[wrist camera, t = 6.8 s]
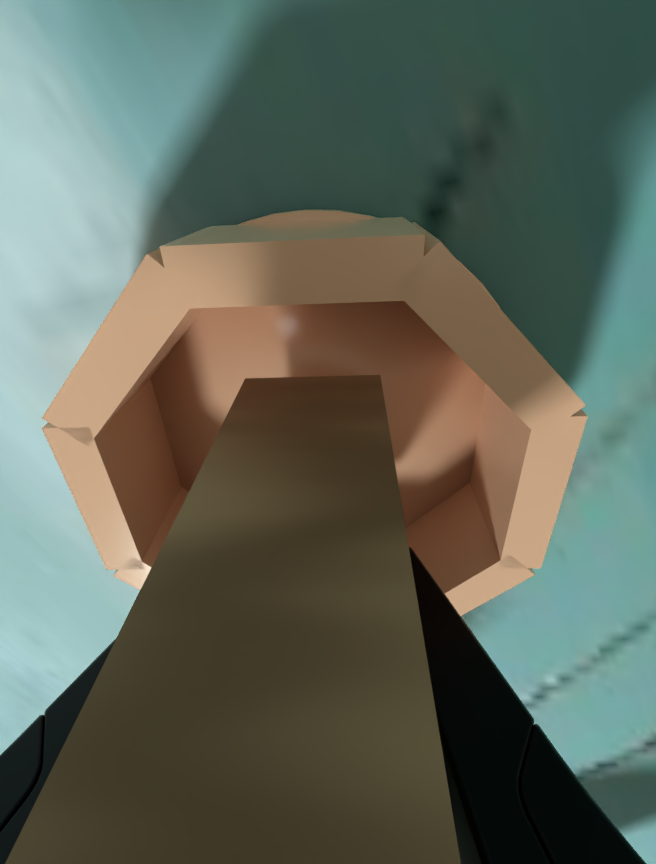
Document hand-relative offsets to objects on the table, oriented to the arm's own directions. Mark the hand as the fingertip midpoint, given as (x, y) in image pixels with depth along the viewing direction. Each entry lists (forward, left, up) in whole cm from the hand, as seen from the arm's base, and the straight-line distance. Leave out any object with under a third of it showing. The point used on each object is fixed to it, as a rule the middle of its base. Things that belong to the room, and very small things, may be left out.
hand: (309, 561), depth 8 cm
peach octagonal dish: (0, 0, -5) cm, 5 cm away
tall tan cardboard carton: (0, 0, -3) cm, 3 cm away
